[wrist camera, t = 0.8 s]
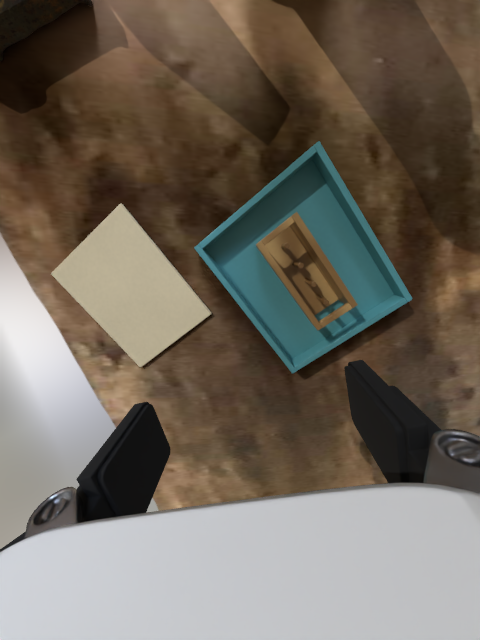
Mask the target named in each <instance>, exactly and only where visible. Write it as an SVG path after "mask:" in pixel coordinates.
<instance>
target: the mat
mask: <svg viewBox="0 0 480 640" xmlns="http://www.w3.org/2000/svg"><path fill="white" fill-rule="evenodd" d="M51 275H52V276H53V277H54V278H55V279H56V280H57V281H58V282H59V283H60V284H61V285H62V286H63V287H64V288H65V289H66V290H67V291H68V292H69V293H70V294H71V295H72V297H73V298H74V299H75V300H76V301H77V302H78V303H79V304H80V305H81V306H82V307H83V308H84V309H85V310H86V311H87V312H88V313H89V314H90V315H91V316H92V317H93V319H94V320H95V321H96V322H97V323H98V324H99V325H100V326H101V327H102V328H103V329H104V330H105V331H106V332H107V333H108V334H109V335H110V336H111V337H112V338H113V340H114V341H115V342H116V343H117V344H118V345H119V346H120V347H121V348H122V349H123V350H124V351H125V352H126V353H127V354H128V355H129V356H130V357H131V358H132V359H133V360H134V362H135V363H136V364H137V365H138V366H139V367H140V368H141V367H142V366H143V365H145V364H146V363H147V362H149V361H150V360H151V359H153V358H154V357H155V356H157V355H158V354H159V353H161V352H162V351H163V350H164V349H166V348H167V347H168V346H170V345H171V344H172V343H174V342H175V341H176V340H178V339H179V338H180V337H182V336H183V335H184V334H186V333H187V332H188V331H190V330H191V329H192V328H194V327H195V326H196V325H197V324H199V323H200V322H201V321H203V320H204V319H205V318H207V317H208V316H209V315H211V314H212V313H211V311H210V310H209V309H208V308H207V307H206V305H205V304H204V303H203V302H202V300H201V299H200V298H199V297H198V296H197V294H196V293H195V292H194V291H193V289H192V288H191V287H190V286H189V285H188V283H187V282H186V281H185V280H184V278H183V277H182V276H181V275H180V274H179V272H178V271H177V270H176V269H175V267H174V266H173V265H172V264H171V263H170V261H169V260H168V259H167V258H166V256H165V255H164V254H163V253H162V252H161V250H160V249H159V248H158V247H157V246H156V244H155V243H154V242H153V241H152V239H151V238H150V237H149V236H148V235H147V233H146V232H145V231H144V230H143V228H142V227H141V226H140V225H139V224H138V222H137V221H136V220H135V219H134V217H133V216H132V215H131V214H130V213H129V211H128V210H127V209H126V208H125V206H124V205H123V204H120V205H119V206H118V207H117V208H116V209H115V210H114V211H113V212H112V213H111V214H110V215H109V216H108V217H107V218H106V219H105V220H104V221H103V222H102V223H101V224H100V225H99V226H98V227H97V228H96V229H95V230H94V231H93V232H92V233H91V234H90V235H89V236H88V237H87V238H86V239H85V240H84V241H83V242H82V243H81V244H80V245H79V246H78V247H77V248H76V249H75V250H74V251H73V252H72V253H71V254H70V255H69V256H68V257H67V258H66V259H65V260H64V261H63V262H62V263H61V264H60V265H59V266H58V267H57V268H56V269H55V270H54V271H53V272H52V273H51Z"/></svg>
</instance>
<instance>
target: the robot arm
mask: <svg viewBox="0 0 480 640" xmlns="http://www.w3.org/2000/svg"><path fill="white" fill-rule="evenodd" d="M345 375H346V382H347V389H348V395H349V402H350V409H351V416H352V420H353V422H354V425H355V426H356V428H357V430H358V431H359V433H360V435H361V437H362V438H363V440H364V442H365V443H366V445H367V447H368V449H369V450H370V452H371V454H372V455H373V457H374V459H375V461H376V462H377V464H378V466H379V467H380V469H381V471H382V473H383V474H384V476H385V478H386V480H387V481H388V483H387V484H372V485H362V486H352V487H343V488H334V489H325V490H317V491H309V492H301V493H293V494H285V495H277V496H269V497H261V498H253V499H245V500H237V501H230V502H222V503H214V504H207V505H199V506H192V507H184V508H177V509H170V510H162V511H156V512H148V513H146V511H147V508H148V506H149V504H150V501H151V499H152V497H153V494H154V492H155V489H156V487H157V485H158V482H159V480H160V477H161V475H162V472H163V470H164V468H165V465H166V463H167V460H168V458H169V455H170V446H169V443H168V441H167V439H166V436H165V434H164V431H163V429H162V427H161V424H160V422H159V419H158V417H157V415H156V412H155V410H154V407H153V405H151V404H149V403H148V402H144V403H139V404H135V405H134V406H133V407H132V408H131V410H130V411H129V412H128V414H127V415H126V416H125V417H124V419H123V420H122V421H121V423H120V424H119V425H118V426H117V428H116V429H115V430H114V432H113V433H112V434H111V436H110V437H109V438H108V439H107V441H106V442H105V443H104V444H103V446H102V447H101V448H100V450H99V451H98V453H97V454H96V455H95V456H94V457H93V459H92V460H91V461H90V462H89V464H88V465H87V466H86V468H85V469H84V470H83V471H82V473H81V474H80V475H79V477H78V478H77V481H78V483H79V485H80V486H79V487H78V488H77V490H76V489H75V488H73V487H67V488H64V489H61V490H59V491H57V492H56V493H54V494H52V495H51V496H50V497H48V498H47V499H46V500H45V501H43V502H42V503H41V504H40V505H39V506H38V508H37V509H36V510H35V511H34V512H33V514H32V515H31V517H30V518H29V521H28V523H27V528H26V532H24V533H23V534H22V535H20V536H19V537H17V538H16V539H14V540H13V541H12V542H10V543H9V544H8V545H6V546H5V547H3V548H2V549H0V640H480V437H479V436H477V435H475V434H472V433H469V432H466V431H462V430H456V429H445V430H441V429H440V428H439V427H438V426H437V425H436V424H435V423H433V422H432V421H431V420H430V419H429V418H428V417H427V416H426V415H425V414H424V413H423V412H422V411H421V410H420V409H419V408H418V407H417V406H416V405H415V404H414V403H412V402H411V401H410V400H409V399H408V398H407V397H406V396H405V395H404V394H403V393H402V392H401V391H400V390H399V389H398V388H396V387H395V386H388V385H387V384H386V383H385V382H384V381H383V380H382V379H381V378H380V377H379V376H378V375H377V374H376V373H375V372H374V371H373V370H372V369H371V368H370V367H369V366H368V365H367V364H366V363H365V362H364V361H363V360H358V361H353V362H349V363H348V366H345Z"/></svg>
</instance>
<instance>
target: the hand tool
mask: <svg viewBox="0 0 480 640" xmlns="http://www.w3.org/2000/svg"><path fill="white" fill-rule="evenodd" d="M79 3H86V4H87V5H89V6H91V7H92V5H93V4H92V1H91V0H0V61H2V60H3V53H2V52H3V51H4V50H5V49H6V48H7V47H9V46H10V45H13V44H15V43H17V42H19V41H20V40H22V39H24V38H27V37H28V36H29V35H30V34H31V33H32V32H34V31H35V30H37V29H38V28H40V27H42V26H44V25H45V24H49V23H50V22H51V21H53V20H56V19H57V18H58V17H59V16H60V15H61V14H64V13H65V12H66V11H68V10H69V9H71V8H72V7H74V6H75V5H77V4H79Z"/></svg>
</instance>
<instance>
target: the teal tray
mask: <svg viewBox="0 0 480 640" xmlns="http://www.w3.org/2000/svg"><path fill="white" fill-rule="evenodd" d="M296 212H297V213H298V214H299V216H300V217H301V219H302V220H303V222H304V223H305V225H306V226H307V228H308V229H309V231H310V232H311V234H312V235H313V237H314V239H315V240H316V242H317V243H318V245H319V246H320V248H321V249H322V251H323V252H324V254H325V255H326V257H327V258H328V260H329V261H330V263H331V264H332V266H333V268H334V269H335V271H336V272H337V274H338V275H339V277H340V278H341V280H342V281H343V283H344V284H345V286H346V287H347V289H348V290H349V292H350V294H351V295H352V297H353V298H354V300H355V301H356V303H357V304H358V305H357V306H355V307H354V308H352V309H351V310H349V311H348V312H346V313H345V314H343V315H342V316H340V317H338V318H337V319H335V320H334V321H332V322H331V323H329V324H328V325H326V326H325V327H323V328H321V329H320V330H318V331H317V329H316V328H315V327H314V326H313V324H312V323H311V322H310V321H309V319H308V318H307V317H306V315H305V314H304V312H303V311H302V310H301V308H300V307H299V305H298V304H297V303H296V301H295V300H294V298H293V297H292V296H291V294H290V293H289V291H288V290H287V289H286V287H285V286H284V285H283V283H282V282H281V280H280V279H279V278H278V276H277V275H276V273H275V272H274V271H273V269H272V268H271V266H270V265H269V264H268V262H267V261H266V259H265V258H264V257H263V255H262V254H261V253H260V251H259V250H258V248H257V247H256V244H257V243H258V242H259V241H261V240H262V239H263V238H265V237H266V236H267V235H268V234H270V233H271V232H272V231H273V230H275V229H276V228H277V227H278V226H280V225H281V224H282V223H283V222H285V221H286V220H287V219H288V218H290V217H291V216H292V215H293V214H294V213H296ZM194 248H195V250H196V251H197V252H198V254H199V255H200V256H201V257H202V259H203V260H204V261H205V263H206V264H207V265H208V266H209V268H210V269H211V270H212V271H213V273H214V274H215V275H216V277H217V278H218V279H219V280H220V282H221V283H222V284H223V286H224V287H225V288H226V289H227V291H228V292H229V293H230V294H231V296H232V297H233V298H234V300H235V301H236V302H237V303H238V305H239V306H240V307H241V309H242V310H243V311H244V312H245V314H246V315H247V316H248V317H249V319H250V320H251V321H252V323H253V324H254V325H255V326H256V328H257V329H258V330H259V332H260V333H261V334H262V335H263V337H264V338H265V339H266V340H267V342H268V343H269V344H270V346H271V347H272V348H273V349H274V351H275V352H276V353H277V354H278V356H279V357H280V358H281V360H282V361H283V362H284V363H285V365H286V366H287V367H288V369H289V370H290V371H291V372H292V374H293V373H294V372H296V371H298V370H299V369H301V368H302V367H304V366H306V365H307V364H309V363H310V362H312V361H314V360H315V359H317V358H319V357H320V356H322V355H323V354H325V353H327V352H328V351H330V350H331V349H333V348H335V347H336V346H338V345H339V344H341V343H343V342H344V341H346V340H348V339H349V338H351V337H352V336H354V335H356V334H357V333H359V332H360V331H362V330H364V329H365V328H367V327H368V326H370V325H372V324H373V323H375V322H377V321H378V320H380V319H381V318H383V317H385V316H386V315H388V314H389V313H391V312H393V311H394V310H396V309H397V308H399V307H401V306H402V305H404V304H406V303H407V302H409V301H410V300H412V297H411V295H410V294H409V292H408V290H407V289H406V287H405V285H404V284H403V282H402V280H401V278H400V277H399V275H398V273H397V272H396V270H395V268H394V267H393V265H392V263H391V262H390V260H389V258H388V256H387V255H386V253H385V251H384V250H383V248H382V246H381V245H380V243H379V241H378V240H377V238H376V236H375V234H374V233H373V231H372V229H371V228H370V226H369V224H368V223H367V221H366V219H365V218H364V216H363V214H362V212H361V211H360V209H359V207H358V206H357V204H356V202H355V201H354V199H353V197H352V196H351V194H350V192H349V190H348V189H347V187H346V185H345V184H344V182H343V180H342V179H341V177H340V175H339V174H338V172H337V170H336V169H335V167H334V165H333V163H332V162H331V160H330V158H329V157H328V155H327V153H326V152H325V150H324V148H323V147H322V145H321V143H320V141H318V142H317V143H316V144H315V145H314V146H312V147H311V148H310V149H309V150H308V151H306V152H305V153H304V154H303V155H302V156H301V157H299V158H298V159H297V160H296V161H295V162H294V163H292V164H291V165H290V166H289V167H288V168H287V169H285V170H284V171H283V172H282V173H281V174H280V175H278V176H277V177H276V178H275V179H274V180H273V181H271V182H270V183H269V184H268V185H267V186H266V187H264V188H263V189H262V190H261V191H260V192H259V193H257V194H256V195H255V196H254V197H253V198H252V199H250V200H249V201H248V202H247V203H246V204H245V205H243V206H242V207H241V208H240V209H239V210H238V211H236V212H235V213H234V214H233V215H232V216H231V217H229V218H228V219H227V220H226V221H225V222H224V223H222V224H221V225H220V226H219V227H218V228H217V229H215V230H214V231H213V232H212V233H211V234H210V235H208V236H207V237H206V238H205V239H204V240H203V241H201V242H200V243H199V244H198V245H197V246H196V247H194ZM343 305H344V303H342V302H341V301H339V300H337V301H335V302H334V303H332V304H331V305H329V306H328V307H326V308H325V309H323V310H322V311H320V312H319V313H317V314H316V315H314V316H315V317H316V319H317V320H318V321H320V320H322V319H323V318H325V317H326V316H328V315H329V314H331V313H332V312H334V311H335V310H337V309H338V308H340V307H341V306H343Z"/></svg>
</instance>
